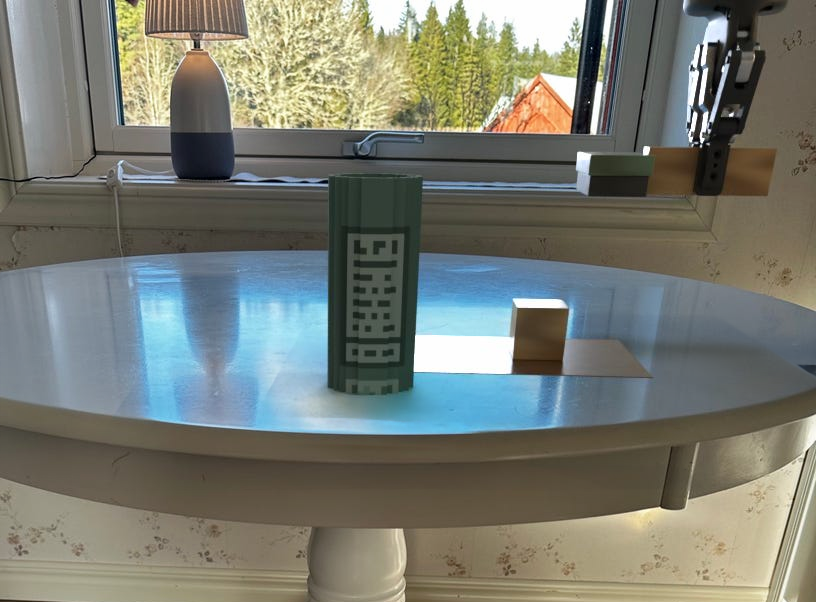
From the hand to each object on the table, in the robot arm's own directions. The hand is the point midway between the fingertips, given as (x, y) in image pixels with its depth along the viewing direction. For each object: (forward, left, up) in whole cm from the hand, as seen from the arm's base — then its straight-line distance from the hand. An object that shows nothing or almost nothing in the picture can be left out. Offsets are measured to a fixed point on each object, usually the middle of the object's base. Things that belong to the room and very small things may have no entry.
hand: (702, 193), depth 79 cm
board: (+16, +9, -13) cm, 22 cm away
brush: (+3, 0, 0) cm, 3 cm away
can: (+27, +20, -13) cm, 36 cm away
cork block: (+14, +9, -11) cm, 20 cm away
